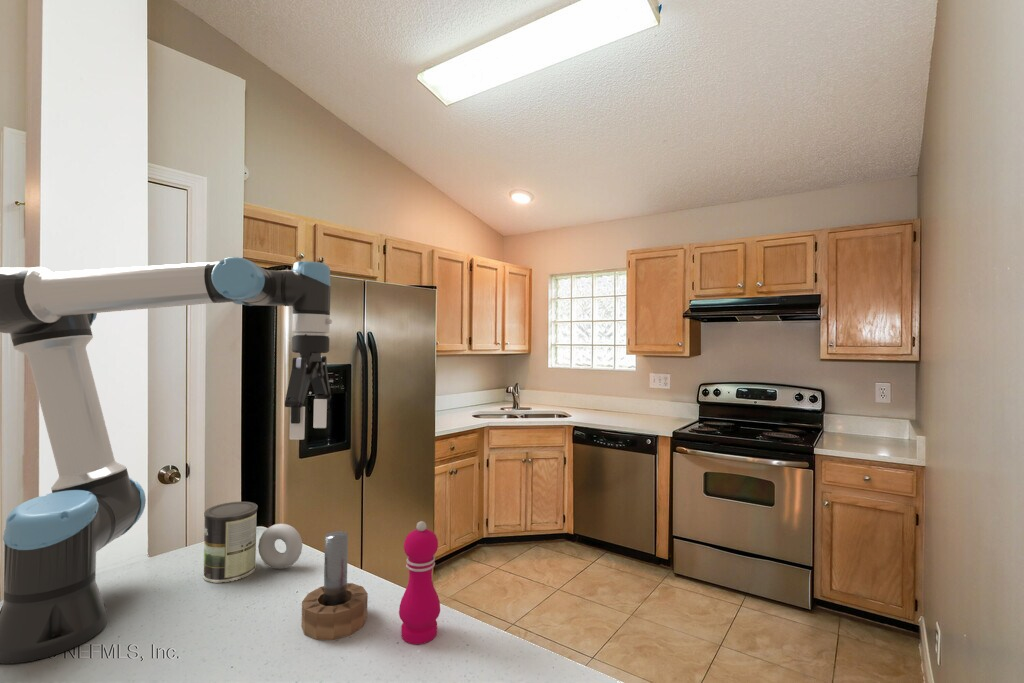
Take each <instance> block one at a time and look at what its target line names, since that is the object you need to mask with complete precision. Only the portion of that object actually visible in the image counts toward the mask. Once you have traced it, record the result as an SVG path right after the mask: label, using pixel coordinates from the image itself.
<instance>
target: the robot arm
mask: <svg viewBox="0 0 1024 683" xmlns="http://www.w3.org/2000/svg"><path fill="white" fill-rule="evenodd" d="M331 287H332V285H331V269H330V267H329V266H328V264H326V263H324V262H318V261H312V260H311V261H309V260H308V261H307V260H306V261H305V260H304V261H302V260H299V261H296V262H293V267H292V269H291V270H272V269H265V268H264V267H261V266H260V265H258V264H256V263H255V262H253V261H252V260H250V259H246V258H244V257H239V256H237V257H236V256H232V257H231V256H230V257H225V258H223V259H222V260H220V261H213V262H210V261H207V262H194V263H193V262H192V263H191V262H190V263H179V264H177V263H176V264H161V265H145V266H131V267H113V268H99V269H83V270H70V271H69V270H68V271H67V270H65V271H55V272H53V271H51V270H50V269H48V268H46V267H42V266H34V267H0V333H1V334H2V333H3V334H10V338H11V341H12V345H13V348H14V350H15V351H18V352H20V353H22V354H24V355H25V356H27V358H28V363H29V367H30V370H31V374H32V378H33V382H34V385H35V389H36V393H37V398H38V400H39V404H40V408H41V412H42V416H43V419H44V423H45V427H46V428H45V429H46V431H47V435H48V439H49V442H50V446H51V450H52V454H53V457H54V461H55V466H56V469H57V472H58V478H57V479H56V481H55V482H54V483H53V485H52V486H51V489H50V490H51V492H50V493H47V494H46V495H44V496H43V495H42V496H41V495H40V496H36V497H34V498H31V499H29V500H26V501H24V502H22V503H19V505H17V506H16V507H14V508H13V509H12V510H11V511H10V512H9V514H8V515H7V517H6V519H5V529H4V531H3V538H2V540H3V542H4V544H3V545H4V548H3V549H4V552H3V555H4V556H3V558H4V562H3V566H4V567H3V570H4V571H3V602H2V606H1V607H0V664H20V663H21V664H22V663H28V662H31V661H32V662H33V661H36V660H37V661H38V660H43V659H46V658H49V657H52V656H55V655H59V654H61V653H63V652H66V651H69V650H71V649H74V648H76V647H78V646H80V645H82V644H84V643H86V642H88V641H89V640H91V639H93V638H94V637H95V636H97V635H98V634H100V632H102V630H103V629H104V628H105V627H106V626H107V622H108V607H107V605H106V603H105V602H104V600H103V597H102V595H101V592H100V589H99V587H98V584H97V582H96V580H97V579H96V578H97V577H96V569H97V568H96V567H97V566H96V565H97V552H99V550H102V548H104V547H106V546H107V545H108V544H110V543H112V542H113V541H114V540H116V539H118V538H120V537H122V536H123V535H125V534H126V533H127V532H129V531H130V530H131V529H132V528H133V526H135V525H136V523H137V522H138V521H139V520H140V518H142V515H143V513H144V510H145V507H146V502H147V501H146V500H147V499H146V494H145V490H144V489H143V487H142V485H141V484H140V483H139V482H138V481H135V480H134V479H133V478H131V477H129V472H128V469H127V468H128V467H127V466H126V465H124V464H121V463H119V462H117V461H116V460H115V457H114V453H113V449H112V445H111V441H110V437H109V436H110V435H109V433H108V429H107V426H106V422H105V418H104V414H103V410H102V405H101V402H100V398H99V394H98V391H97V386H96V383H95V379H94V374H93V371H92V367H91V364H90V359H89V356H88V352H87V346H88V344H89V343H90V342H91V340H93V338H94V335H93V332H92V328H91V326H92V325H93V322H94V321H95V320H96V319H97V314H99V313H101V314H102V313H112V312H113V313H114V312H122V311H123V312H125V311H135V310H148V309H159V308H170V307H183V306H194V305H207V304H216V303H217V304H220V303H221V304H223V303H233V304H235V305H244V306H248V307H252V306H270V307H272V306H275V307H276V306H280V307H281V306H282V307H283V306H284V307H292V313H291V314H292V316H291V321H292V322H291V332H292V333H294V335H292V336H291V351H292V353H294V354H295V353H296V354H297V353H298V354H299V357H293V358H292V365H291V372H290V375H289V376H290V377H289V381H288V385H287V391H286V394H285V395H286V396H285V401H284V407H285V408H289V435H288V436H289V440H290V441H291V440H296V441H299V440H301V441H302V440H305V435H306V434H305V431H306V430H305V429H306V428H305V425H306V424H305V423H306V421H305V420H306V419H305V418H306V406H304V402H305V400H306V397H307V394H308V390H309V387H310V385H312V389H313V393H314V397H315V398H314V399H313V421H312V422H313V426H312V428H314V429H326V428H327V417H328V416H327V415H328V414H327V413H328V410H327V409H328V399H330V400H331V398H332V393H331V386H330V379H329V374H328V372H329V371H328V367H327V366H328V364H327V363H328V362H327V356H326V355H322V354H327V353H329V352H330V341H331V340H330V337H329V335H327V334H329V333H330V325H331V324H332V323H333V320H332V319H331V318H330V316H331V294H332V293H331V292H332V290H331V289H332V288H331Z"/></svg>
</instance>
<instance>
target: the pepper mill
mask: <svg viewBox="0 0 1024 683" xmlns="http://www.w3.org/2000/svg"><path fill="white" fill-rule="evenodd" d="M438 548H439V540H438V537H437V535H436V534H435V532H434V531H432V530H430V529H428V528H427V523H426V522H425V521H423V520H420V521H419V522H417V523H416V528H415V529H414V530H412V531H410V532H409V533H408V534H407V536H405V539H404V542H403V550H404V553H405V555H406V556H407V558H406V560H405V561H406V564H405V567H406V569H407V570H408V573H409V575H408V583H407V586H406V588H405V590H404V593H403V596H402V597H401V598H400V599H401V600H400V603H399V609H398V616H399V619H400V620H401V621H402V624H401V627H400V628H401V632H400V633H401V638H402V640H403V641H404V642H406V643H408V644H411V645H422V644H426V643H428V642H431V641H432V640H434V639H435V638H436V636H437V634H438V621H437V619H438V618H439V615H440V613H441V602H440V597H439V595H438V593H437V591H436V589H435V587H434V583H433V576H432V573H433V568H434V567H435V565H436V562H435V561H436V557H435V554H436V553H437V551H438Z"/></svg>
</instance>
